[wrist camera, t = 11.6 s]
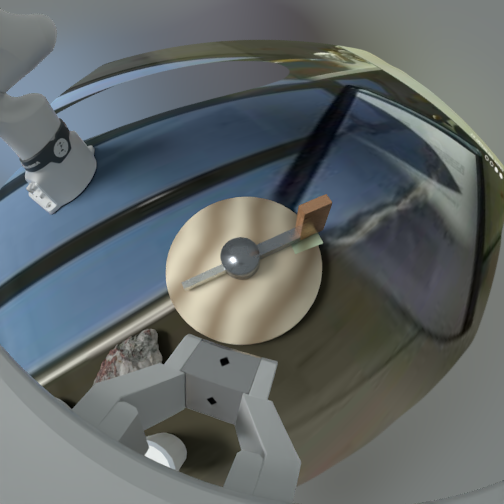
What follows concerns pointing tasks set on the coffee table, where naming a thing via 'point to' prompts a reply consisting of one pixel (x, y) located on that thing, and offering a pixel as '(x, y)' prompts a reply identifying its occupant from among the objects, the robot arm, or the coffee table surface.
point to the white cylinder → (166, 450)
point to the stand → (248, 290)
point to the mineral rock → (131, 356)
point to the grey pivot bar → (265, 245)
